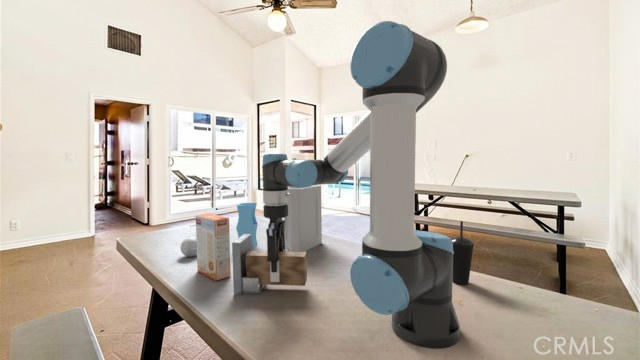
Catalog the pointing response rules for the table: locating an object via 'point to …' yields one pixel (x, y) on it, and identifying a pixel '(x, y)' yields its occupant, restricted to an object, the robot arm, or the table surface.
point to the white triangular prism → (303, 218)
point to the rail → (289, 263)
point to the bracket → (243, 268)
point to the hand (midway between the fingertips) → (277, 277)
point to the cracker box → (213, 246)
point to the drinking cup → (462, 258)
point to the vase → (247, 221)
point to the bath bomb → (189, 247)
